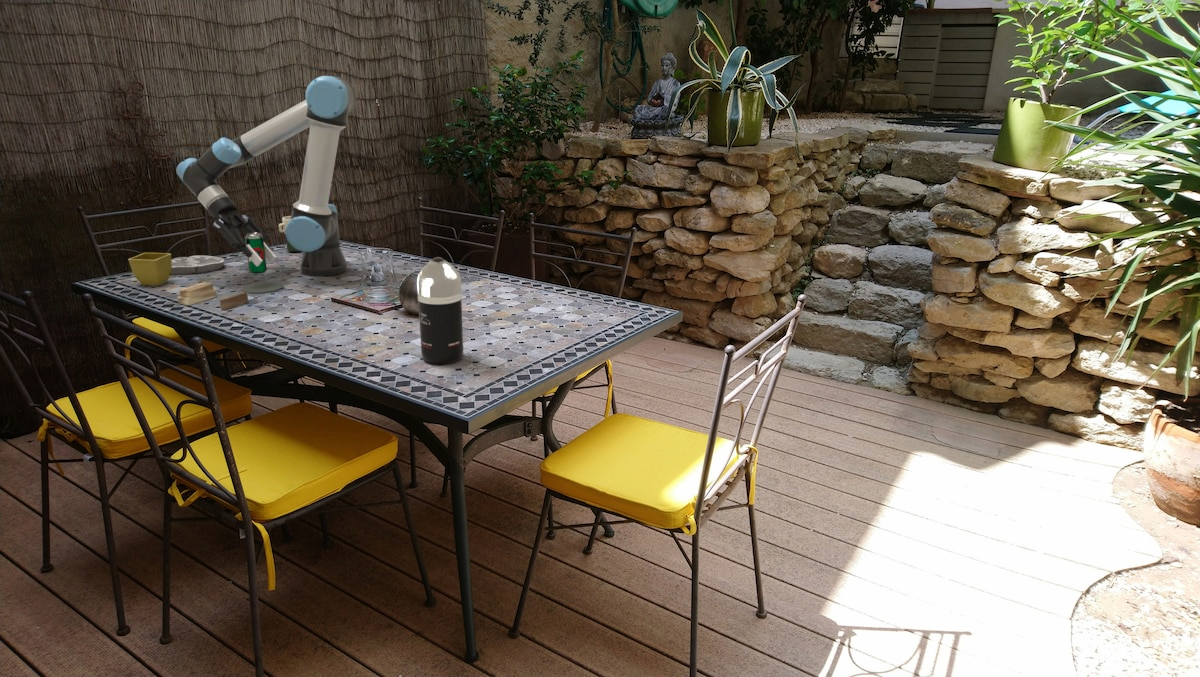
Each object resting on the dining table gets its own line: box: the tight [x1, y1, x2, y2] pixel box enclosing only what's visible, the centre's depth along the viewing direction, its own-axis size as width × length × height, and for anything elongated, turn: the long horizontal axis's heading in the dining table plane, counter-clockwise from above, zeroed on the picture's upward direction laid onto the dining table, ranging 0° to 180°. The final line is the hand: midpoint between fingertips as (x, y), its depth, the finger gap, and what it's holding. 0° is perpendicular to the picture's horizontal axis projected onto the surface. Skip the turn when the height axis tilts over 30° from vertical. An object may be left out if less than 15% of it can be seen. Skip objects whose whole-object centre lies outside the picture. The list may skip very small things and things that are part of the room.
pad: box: [241, 280, 284, 294], centre depth 231 cm, size 12×12×1 cm
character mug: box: [278, 215, 300, 253], centre depth 277 cm, size 11×7×13 cm, turn 137°
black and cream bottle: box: [416, 256, 464, 365], centre depth 174 cm, size 10×10×25 cm
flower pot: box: [127, 252, 172, 287], centre depth 231 cm, size 9×9×9 cm
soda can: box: [244, 233, 268, 275], centre depth 227 cm, size 5×5×12 cm
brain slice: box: [170, 255, 225, 276], centre depth 250 cm, size 20×17×3 cm
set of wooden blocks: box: [177, 282, 249, 311], centre depth 214 cm, size 17×10×4 cm, turn 70°
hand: (266, 261), depth 227 cm, fingers closed on soda can, 5 cm apart
